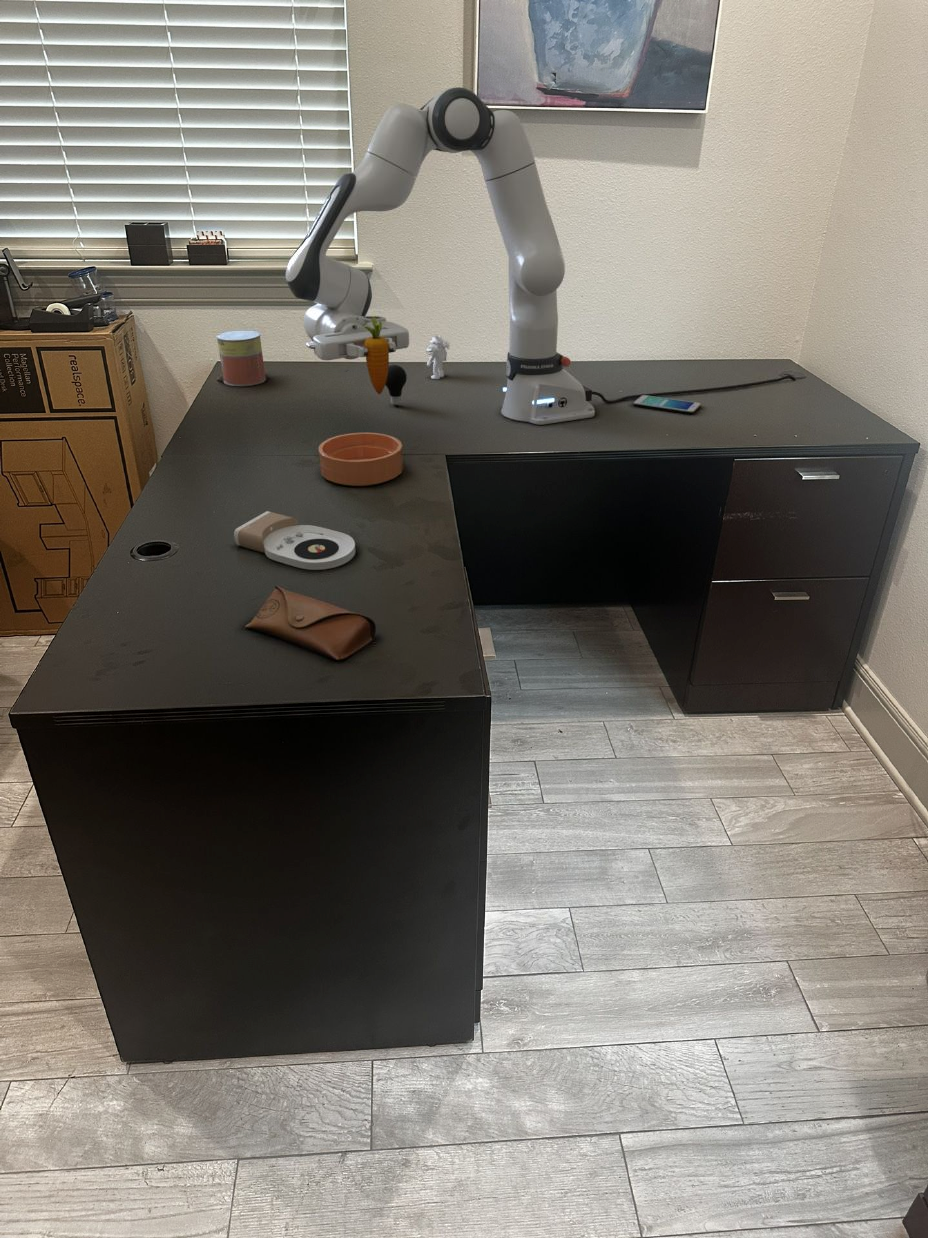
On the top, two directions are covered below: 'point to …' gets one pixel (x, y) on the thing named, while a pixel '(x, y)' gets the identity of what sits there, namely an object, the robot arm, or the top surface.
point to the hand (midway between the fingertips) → (379, 350)
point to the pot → (361, 458)
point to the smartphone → (667, 404)
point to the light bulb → (395, 383)
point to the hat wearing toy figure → (437, 355)
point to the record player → (295, 542)
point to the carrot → (377, 356)
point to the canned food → (241, 357)
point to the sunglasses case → (313, 624)
